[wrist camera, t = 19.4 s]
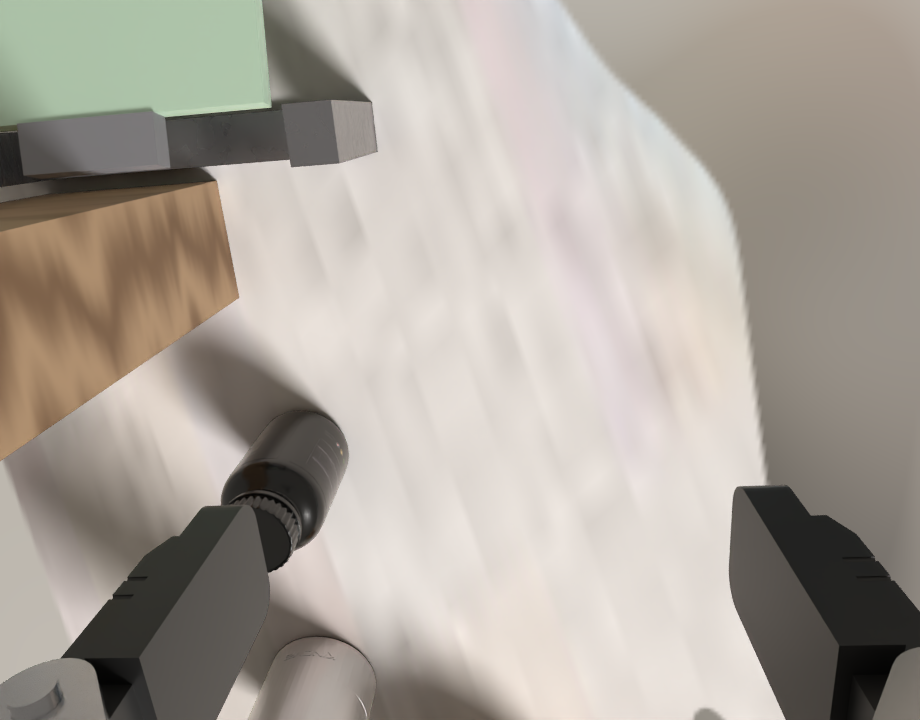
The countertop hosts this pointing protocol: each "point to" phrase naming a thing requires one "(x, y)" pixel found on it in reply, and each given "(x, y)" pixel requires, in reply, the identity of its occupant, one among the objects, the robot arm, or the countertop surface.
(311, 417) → the supplement bottle
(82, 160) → the trapdoor
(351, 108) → the trapdoor frame
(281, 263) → the countertop surface
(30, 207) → the walnut pedestal
